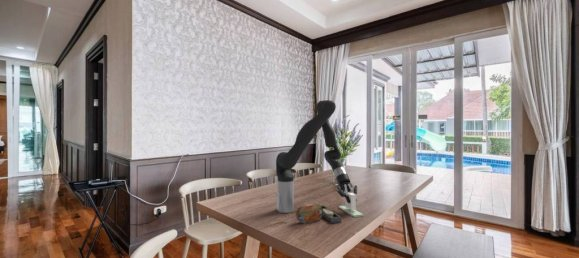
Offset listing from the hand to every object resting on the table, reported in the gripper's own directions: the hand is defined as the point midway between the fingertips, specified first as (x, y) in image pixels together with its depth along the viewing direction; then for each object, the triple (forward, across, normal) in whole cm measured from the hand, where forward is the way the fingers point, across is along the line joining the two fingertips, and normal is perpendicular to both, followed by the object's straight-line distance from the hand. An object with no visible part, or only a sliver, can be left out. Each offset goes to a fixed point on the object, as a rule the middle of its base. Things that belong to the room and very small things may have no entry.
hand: (352, 202), depth 137 cm
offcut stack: (+4, -16, +5) cm, 17 cm away
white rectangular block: (+1, 0, +4) cm, 4 cm away
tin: (+7, -28, +2) cm, 28 cm away
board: (+3, 0, +6) cm, 6 cm away
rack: (+4, -16, +4) cm, 17 cm away
